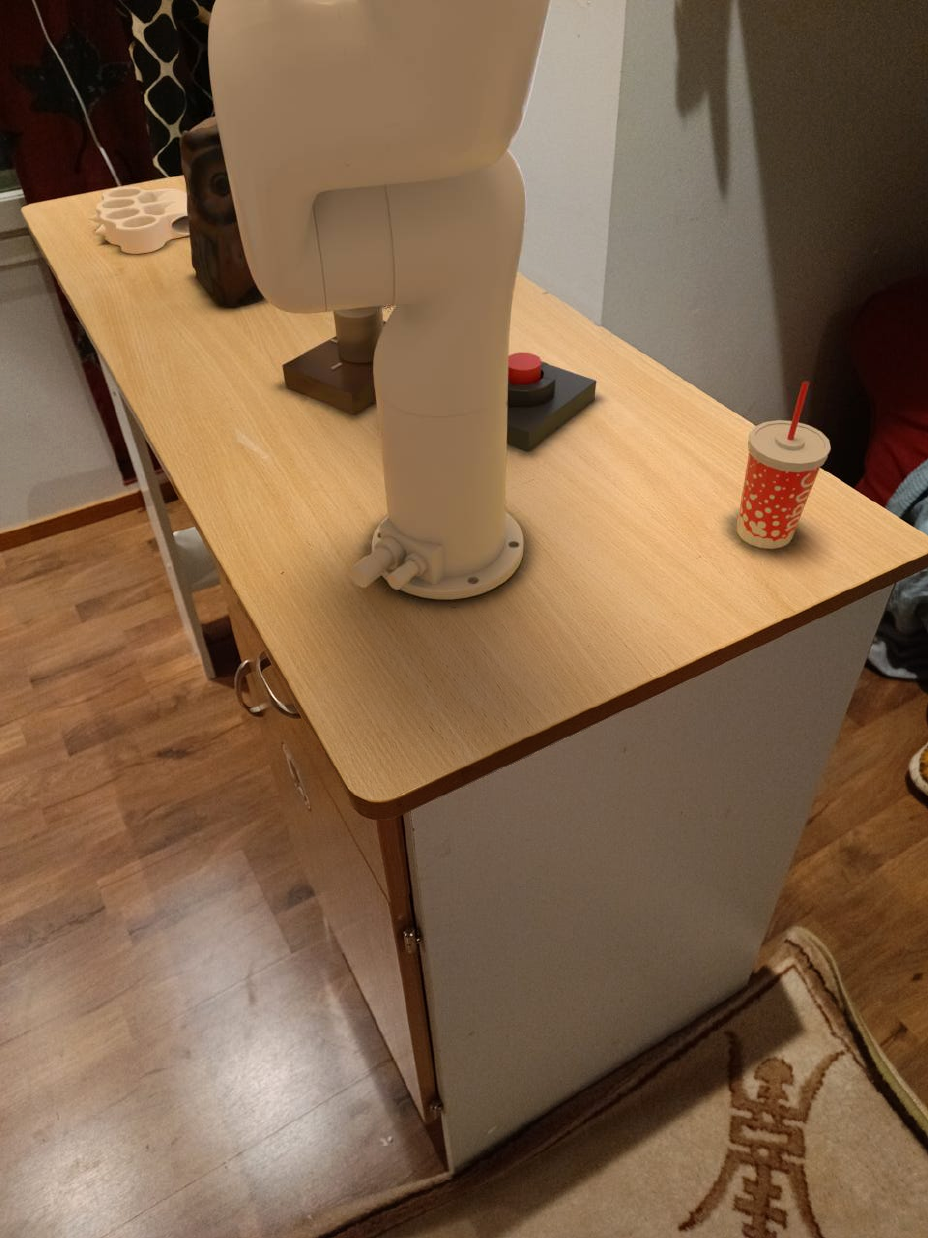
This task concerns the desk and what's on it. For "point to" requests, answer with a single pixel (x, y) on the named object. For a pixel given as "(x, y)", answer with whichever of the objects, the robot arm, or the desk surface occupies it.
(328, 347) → the dimmer panel
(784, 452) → the beverage cup
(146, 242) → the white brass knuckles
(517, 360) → the power button
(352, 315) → the dimmer knob
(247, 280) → the owl
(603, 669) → the desk surface
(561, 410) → the switch block
